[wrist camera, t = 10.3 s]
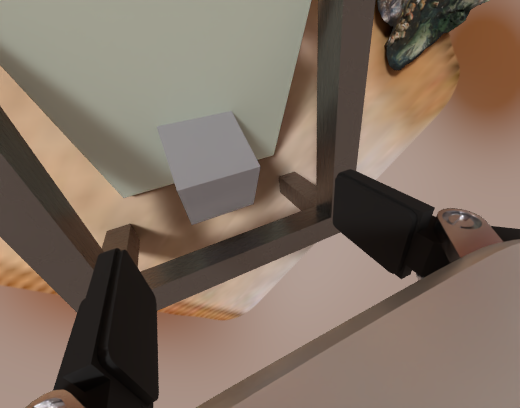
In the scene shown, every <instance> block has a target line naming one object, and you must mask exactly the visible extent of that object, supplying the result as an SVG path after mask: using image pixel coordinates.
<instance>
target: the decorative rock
mask: <svg viewBox="0 0 520 408" xmlns="http://www.w3.org/2000/svg"><path fill="white" fill-rule="evenodd" d="M377 1H378V10H379V12H380V14H381V17H382V19H383V20H384V21H385V22H387V23H388V24H389V25H390V26H394V27H393V29H392V32H391V35H390V38H389V40H388V41H387V42H386V44H385V47H387V59H388V62H389V65H390V67H391V68H393V69H394V70H401V69H402V68H404V67H405V65H407V64H408V63H410V62H412V61H413V60H414V59H416V58H417V57H418V56H420V54H421V53H422V52H423V51H424V49H426V48H427V47H429V46H431V45H432V44H433V43H434V42H436V41H437V40H438V39H439V38H440V37H441V36H442V35H443V33H447V32H450V31H451V30H452V29H454V28H455V27H457V26H458V25H460V24H461V23H463V22H464V21H465V20H466V18H467V16H468V14H469V12H470V10H471V9H473V8H474V7H476V6H477V5H481V4H482V3H485V2H487V1H490V0H377Z"/></svg>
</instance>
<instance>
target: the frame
mask: <svg viewBox="0 0 520 408" xmlns="http://www.w3.org/2000/svg"><path fill="white" fill-rule="evenodd" d="M374 9H375V0H318V72H317V179H316V186H315V185H314V184H312V183H311V182H309V181H308V180H306V179H305V178H303V177H302V176H300V175H299V174H297V173H296V172H292V173H289V174H286V175H283V176H280V177H279V183H280V192H281V193H282V194H283V195H284V196H285V197H286V198H287V199H289V200H290V201H291V202H292V203H293V204H294V205H295V206H296V207H298V208H299V209H300V210H301V212H298V213H296V214H293V215H290V216H288V217H285V218H282V219H280V220H277V221H274V222H272V223H269V224H266V225H264V226H261V227H258V228H256V229H253V230H250V231H248V232H245V233H242V234H240V235H237V236H234V237H232V238H229V239H226V240H224V241H221V242H218V243H216V244H213V245H210V246H208V247H205V248H202V249H200V250H197V251H194V252H192V253H189V254H186V255H184V256H181V257H178V258H176V259H173V260H171V261H168V262H165V263H163V264H160V265H157V266H155V267H152V268H149V269H147V270H144V271H141V274H142V276H143V277H144V279H145V280H146V282H147V284H148V285H149V287H150V288H151V290H152V291H153V293H154V295H155V298H156V303H157V311H158V310H160V309H162V308H165V307H167V306H169V305H172V304H174V303H176V302H179V301H181V300H183V299H186V298H188V297H190V296H193V295H195V294H197V293H200V292H202V291H204V290H207V289H209V288H211V287H214V286H216V285H218V284H221V283H223V282H225V281H228V280H230V279H232V278H235V277H237V276H239V275H242V274H244V273H246V272H249V271H251V270H253V269H256V268H258V267H260V266H263V265H265V264H267V263H270V262H272V261H274V260H277V259H279V258H281V257H284V256H286V255H288V254H291V253H293V252H295V251H298V250H300V249H302V248H305V247H307V246H309V245H312V244H314V243H316V242H319V241H321V240H323V239H325V238H328V237H330V236H332V235H335V234H337V233H340V231H339V230H338V229H336V228H335V227H334V225H333V206H334V190H335V178H336V177H337V175H338V173H340V172H342V171H345V170H348V169H352V170H354V171H356V166H357V157H358V149H359V140H360V131H361V122H362V114H363V105H364V96H365V87H366V79H367V70H368V61H369V52H370V44H371V35H372V26H373V17H374ZM0 237H1V238H2V239H3V240H4V241H5V242H6V243H7V244H8V245H9V246H10V247H11V248H12V249H13V250H14V251H15V252H16V253H17V254H18V255H19V256H20V257H21V258H22V259H23V260H24V261H25V262H26V263H27V264H28V265H29V266H30V267H31V268H32V269H33V270H34V271H35V272H36V273H37V274H39V275H40V276H41V277H42V278H43V279H44V280H45V281H46V282H47V283H48V284H49V285H50V286H51V287H52V288H53V289H54V290H55V291H56V292H57V293H58V294H59V295H60V296H61V297H62V298H63V299H64V300H65V301H66V302H67V303H68V304H69V305H70V306H71V307H72V308H73V309H74V310H75V311H76V312H78V309H79V306H80V304H81V302H82V301H83V300H84V299H85V298H86V295H87V291H88V288H89V285H90V281H91V278H92V275H93V271H94V268H95V264H96V261H97V258H98V255H99V254H100V253H103V252H106V251H109V250H112V249H115V248H119V249H120V250H126V251H127V252H128V253H129V255H130V257H131V258H132V260H133V261H134V263H135V265H136V266H137V268H138V255H139V242H140V240H139V238H138V236H137V234H136V233H135V231H134V229H133V227H132V225H131V224H128V225H125V226H122V227H119V228H116V229H112V230H109V231H107V233H106V236H105V240H104V243H103V246H102V249H101V247H100V246H99V244H98V243H97V242H96V240H95V239H94V237H93V236H92V235H91V233H90V232H89V230H88V229H87V227H86V226H85V225H84V223H83V222H82V220H81V219H80V218H79V216H78V215H77V213H76V212H75V211H74V209H73V208H72V206H71V205H70V204H69V202H68V201H67V199H66V198H65V197H64V195H63V194H62V192H61V191H60V189H59V188H58V187H57V185H56V184H55V182H54V181H53V180H52V178H51V177H50V175H49V174H48V173H47V171H46V170H45V168H44V167H43V166H42V164H41V163H40V161H39V160H38V159H37V157H36V156H35V154H34V153H33V152H32V150H31V149H30V147H29V146H28V144H27V143H26V142H25V140H24V139H23V137H22V136H21V135H20V133H19V132H18V130H17V129H16V128H15V126H14V125H13V123H12V122H11V121H10V119H9V118H8V116H7V115H6V114H5V112H4V111H3V109H2V108H1V107H0Z"/></svg>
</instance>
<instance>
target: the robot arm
mask: <svg viewBox="0 0 520 408" xmlns="http://www.w3.org/2000/svg"><path fill="white" fill-rule="evenodd" d="M433 211H434V207H432V206H430V205H428V204H426V203H424V202H421V201H419V200H417V199H415V198H413V197H411V196H408V195H406V194H404V193H402V192H400V191H397V190H396V189H393V188H391V187H389V186H387V185H385V184H383V183H380V182H378V181H376V180H374V179H372V178H370V177H367V176H365V175H363V174H361V173H359V172H357V171H354V170H352V169H348V170H345V171H342V172H340V173H338V175H337V177H336V178H335V190H334V206H333V225H334V227H335V228H336V229H338V230H339V231H340V232H341V233H342V234H344V235H345V236H346V237H347V238H348V239H350V240H351V241H352V242H353V243H355V244H356V245H357V246H358V247H359V248H361V249H362V250H363V251H364V252H366V253H367V254H368V255H369V256H370V257H372V258H373V259H374V260H375V261H377V262H378V263H379V264H380V265H381V266H383V267H384V268H385V269H386V270H387V271H389V272H390V273H392V274H395V275H397V276H398V277H399V278H401V279H402V278H404V277H406V276H408V275H410V274H411V271H412V270H413V271H414V272H416V275H417V278H418V281H417V282H416V283H414V284H412V285H410V286H408V287H407V288H405V289H403V290H401V291H400V292H397V293H396V294H394V295H392V296H390V297H388V298H387V299H385V300H383V301H381V302H380V303H378V304H376V305H374V306H372V307H371V308H369V309H367V310H366V311H364V312H362V313H360V314H358V315H357V316H355V317H353V318H351V319H349V320H348V321H346V322H344V323H342V324H341V325H339V326H337V327H335V328H333V329H332V330H330V331H328V332H326V333H325V334H323V335H321V336H319V337H318V338H316V339H314V340H312V341H310V342H309V343H307V344H305V345H303V346H302V347H300V348H298V349H297V350H295V351H293V352H291V353H290V354H288V355H286V356H284V357H283V358H281V359H279V360H277V361H275V362H274V363H272V364H270V365H268V366H267V367H265V368H263V369H261V370H260V371H258V372H256V373H255V374H253V375H251V376H249V377H247V378H246V379H244V380H242V381H240V382H239V383H237V384H235V385H233V386H232V387H230V388H228V389H227V390H225V391H223V392H222V393H220V394H218V395H216V396H215V397H213V398H211V399H210V400H208V401H206V402H205V403H203V404H201V405H200V406H198V407H196V408H520V229H513V228H504V227H494V226H490V225H489V224H488V223H487V221H486V220H484V219H483V218H482V217H480V216H479V215H477V214H475V213H472V212H470V211H466V210H462V209H455V208H447V209H443V210H441V211H439V212H438V214H437V217H434V216H432V214H433ZM158 388H159V386H158V344H157V303H156V298H155V295H154V293H153V291H152V290H151V288H150V287H149V285H148V284H147V282H146V280H145V279H144V277H143V276H142V274H141V272H140V271H139V269H138V268H137V266H136V265H135V263H134V261H133V260H132V258H131V257H130V255H129V253H128V252H127V251H126V250H120V249H119V248H115V249H112V250H109V251H106V252H103V253H100V254H99V255H98V258H97V261H96V264H95V268H94V271H93V275H92V278H91V281H90V285H89V288H88V291H87V295H86V298H85V299H84V300H83V301H82V302H81V304H80V306H79V309H78V312H77V316H76V319H75V322H74V325H73V328H72V332H71V335H70V338H69V341H68V345H67V348H66V351H65V354H64V357H63V360H62V364H61V367H60V370H59V373H58V376H57V379H56V383H55V386H54V389H53V391H51V392H48V393H46V394H43V395H42V396H40V397H39V398H37V399H36V400H34V401H32V402H31V403H30V404H29V405H28V406H26V407H25V408H153V402H154V401H156V400H157V399H158V395H159V394H158V393H159V389H158Z"/></svg>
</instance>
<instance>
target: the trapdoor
mask: <svg viewBox="0 0 520 408" xmlns="http://www.w3.org/2000/svg"><path fill="white" fill-rule="evenodd" d="M310 5H311V0H0V65H1V66H2V68H3V69H4V70H5V71H6V72H7V73H8V74H9V75H10V76H11V77H12V78H13V79H14V80H15V82H16V83H17V84H18V85H19V86H20V87H21V88H22V89H23V90H24V91H25V92H26V93H27V95H28V96H29V97H30V98H31V99H32V100H33V101H34V102H35V103H36V104H37V105H38V106H39V107H40V109H41V110H42V111H43V112H44V113H45V114H46V115H47V116H48V117H49V118H50V119H51V120H52V121H53V123H54V124H55V125H56V126H57V127H58V128H59V129H60V130H61V131H62V132H63V133H64V134H65V135H66V137H67V138H68V139H69V140H70V141H71V142H72V143H73V144H74V145H75V146H76V147H77V148H78V149H79V151H80V152H81V153H82V154H83V155H84V156H85V157H86V158H87V159H88V160H89V161H90V162H91V163H92V165H93V166H94V167H95V168H96V169H97V170H98V171H99V172H100V173H101V174H102V175H103V176H104V177H105V179H106V180H107V181H108V182H109V183H110V184H111V185H112V186H113V187H114V188H115V189H116V190H117V191H118V193H119V194H120V195H121V196H122V197H123V198H126V197H129V196H133V195H136V194H140V193H143V192H147V191H150V190H154V189H157V188H161V187H164V186H168V185H171V184H175V183H174V180H173V177H172V174H171V171H170V167H169V164H168V161H167V158H166V155H165V152H164V148H163V145H162V142H161V139H160V136H159V133H158V130H157V126H161V125H166V124H171V123H176V122H181V121H185V120H190V119H195V118H200V117H205V116H209V115H214V114H219V113H224V112H229V111H232V113H233V115H234V117H235V118H236V120H237V122H238V124H239V126H240V128H241V130H242V132H243V134H244V136H245V138H246V140H247V142H248V143H249V145H250V147H251V149H252V151H253V153H254V155H255V157H256V159H257V160H259V159H262V158H266V157H269V156H273V155H274V151H275V147H276V143H277V139H278V135H279V131H280V127H281V123H282V119H283V115H284V111H285V107H286V102H287V98H288V94H289V90H290V86H291V82H292V78H293V74H294V70H295V66H296V62H297V58H298V54H299V49H300V45H301V41H302V37H303V33H304V29H305V25H306V21H307V17H308V13H309V9H310Z"/></svg>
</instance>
